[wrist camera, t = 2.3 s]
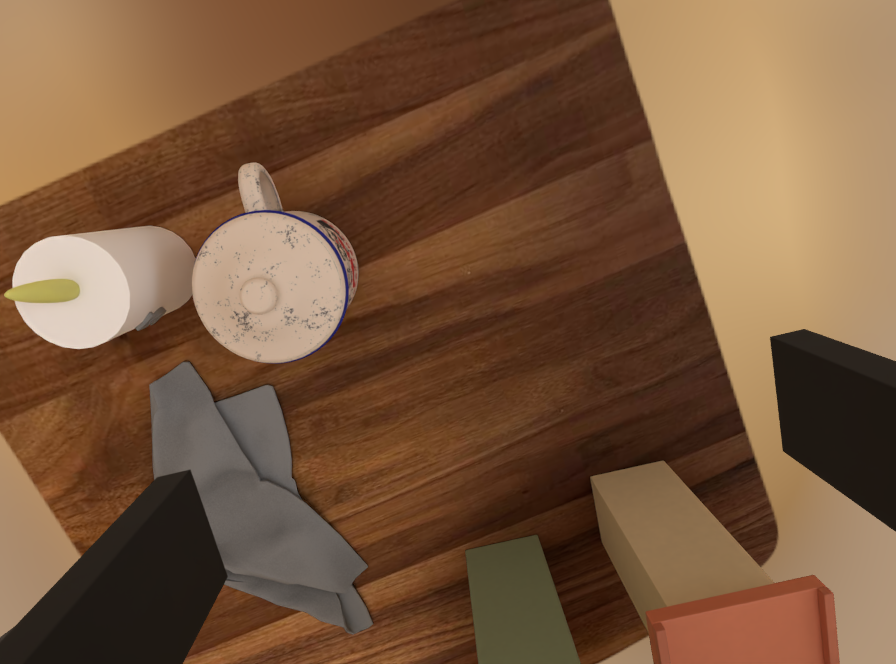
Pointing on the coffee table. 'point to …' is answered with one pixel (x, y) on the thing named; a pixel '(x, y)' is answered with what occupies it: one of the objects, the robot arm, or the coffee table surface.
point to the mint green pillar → (517, 606)
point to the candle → (101, 283)
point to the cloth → (254, 498)
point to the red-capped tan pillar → (704, 579)
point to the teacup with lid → (273, 277)
